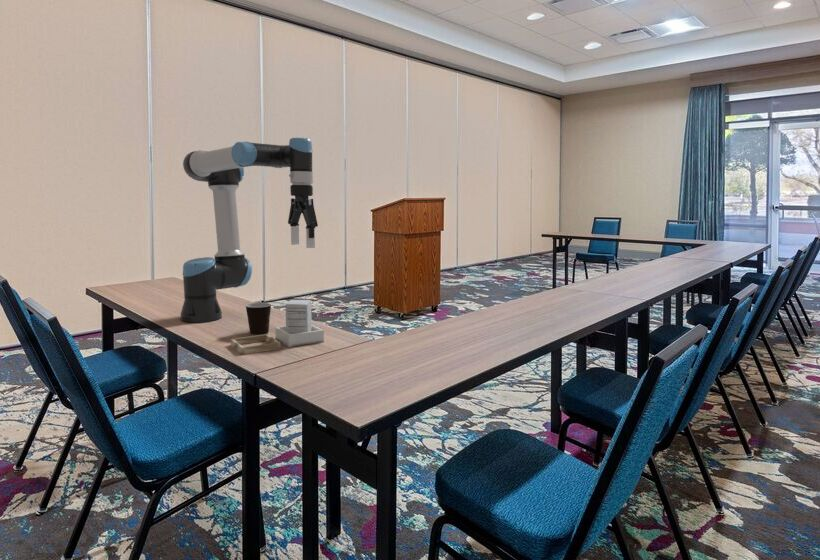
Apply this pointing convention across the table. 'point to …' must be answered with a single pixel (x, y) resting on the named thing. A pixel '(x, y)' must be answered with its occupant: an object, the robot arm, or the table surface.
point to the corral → (257, 348)
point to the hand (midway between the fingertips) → (302, 246)
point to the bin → (299, 336)
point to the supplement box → (298, 316)
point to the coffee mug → (258, 317)
